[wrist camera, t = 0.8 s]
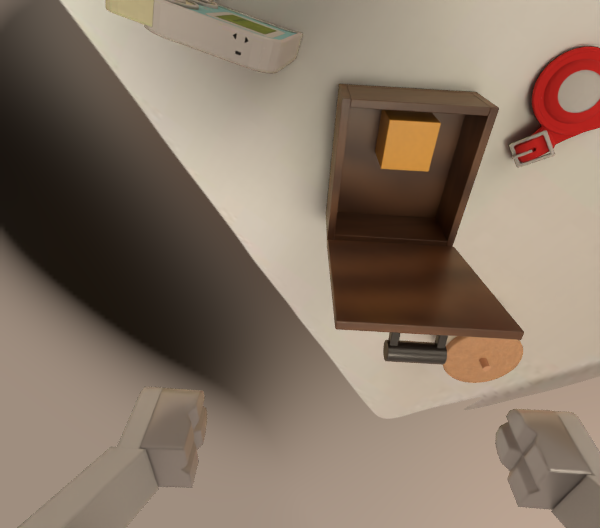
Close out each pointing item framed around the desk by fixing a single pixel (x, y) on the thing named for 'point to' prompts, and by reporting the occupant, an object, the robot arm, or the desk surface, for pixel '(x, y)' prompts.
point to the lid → (413, 297)
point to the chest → (403, 183)
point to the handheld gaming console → (215, 31)
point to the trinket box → (481, 357)
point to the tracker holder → (562, 103)
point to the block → (406, 140)
